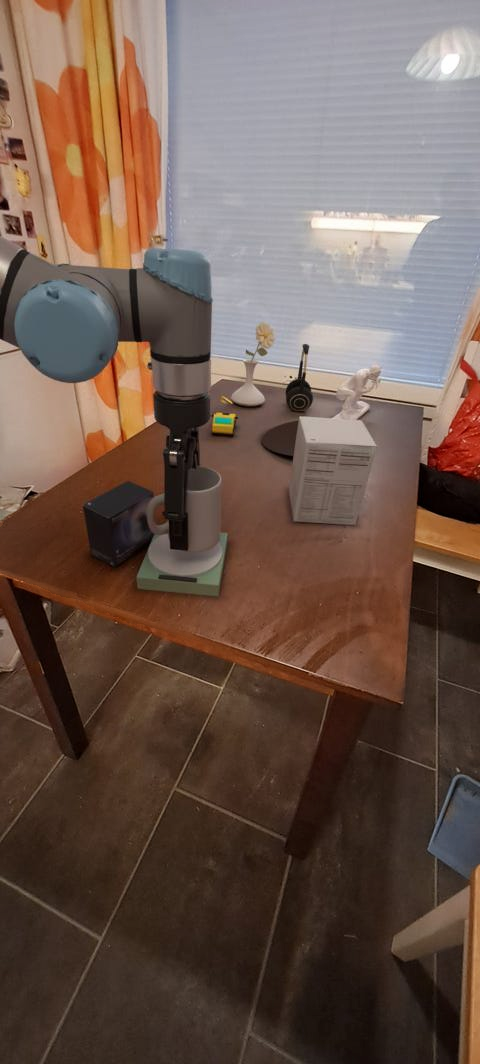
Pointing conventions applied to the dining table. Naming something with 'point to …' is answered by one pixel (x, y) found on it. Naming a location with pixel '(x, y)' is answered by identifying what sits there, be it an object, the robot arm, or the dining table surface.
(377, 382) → the figurine
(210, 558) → the scale
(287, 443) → the plate
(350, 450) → the supplement box
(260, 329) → the flower in vase
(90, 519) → the small box
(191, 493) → the mug
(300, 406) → the headphones
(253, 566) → the dining table surface
